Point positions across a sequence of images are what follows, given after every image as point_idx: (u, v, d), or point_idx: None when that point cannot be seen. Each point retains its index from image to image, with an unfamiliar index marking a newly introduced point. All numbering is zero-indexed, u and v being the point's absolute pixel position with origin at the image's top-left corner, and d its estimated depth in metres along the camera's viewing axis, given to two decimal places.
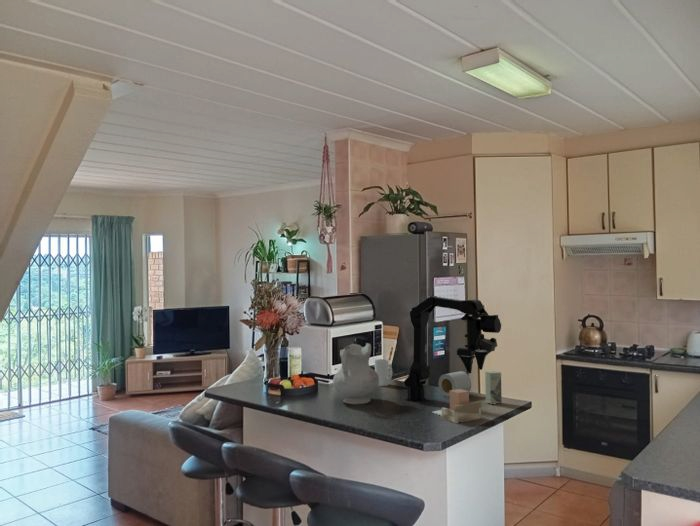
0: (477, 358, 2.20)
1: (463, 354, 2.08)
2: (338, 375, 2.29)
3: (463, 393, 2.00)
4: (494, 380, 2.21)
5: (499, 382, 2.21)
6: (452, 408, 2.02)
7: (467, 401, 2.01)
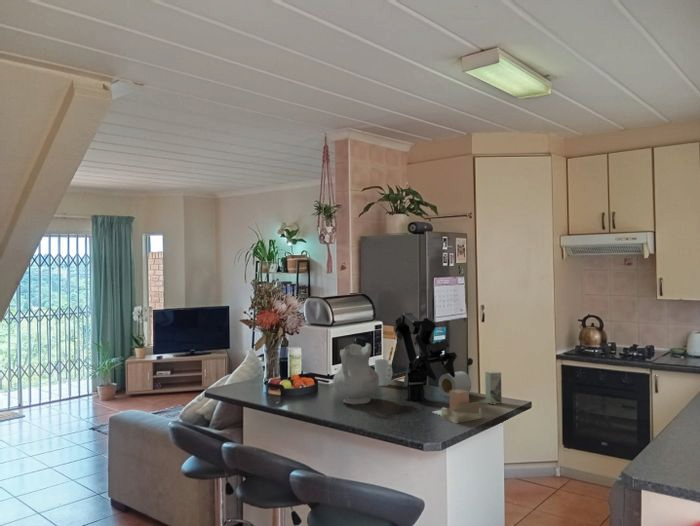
0: (447, 369, 2.15)
1: (416, 364, 2.09)
2: (338, 375, 2.29)
3: (463, 393, 2.00)
4: (494, 380, 2.21)
5: (499, 382, 2.21)
6: (452, 408, 2.02)
7: (467, 401, 2.01)
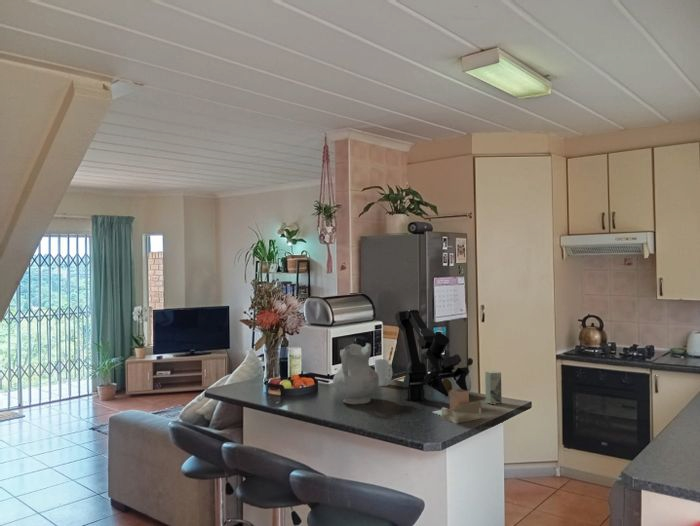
0: (459, 385, 2.09)
1: (427, 379, 2.03)
2: (338, 375, 2.29)
3: (463, 393, 2.00)
4: (494, 380, 2.21)
5: (499, 382, 2.21)
6: (452, 408, 2.02)
7: (467, 401, 2.01)
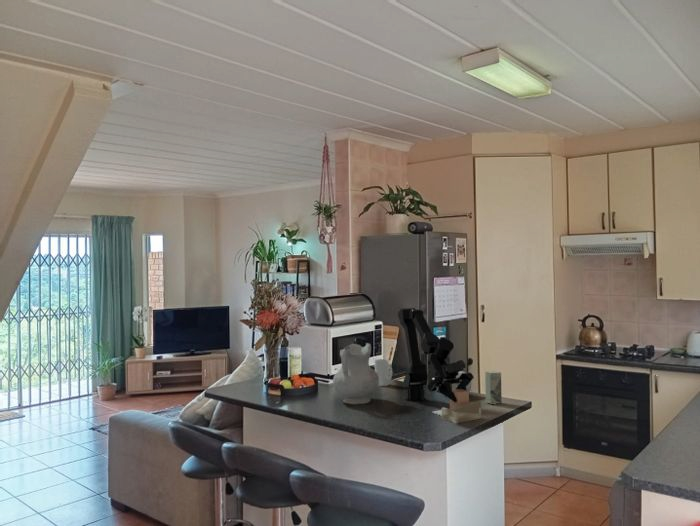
0: None
1: (431, 386, 2.01)
2: (338, 375, 2.29)
3: (463, 393, 2.00)
4: (494, 380, 2.21)
5: (499, 382, 2.21)
6: (452, 408, 2.02)
7: (467, 401, 2.01)
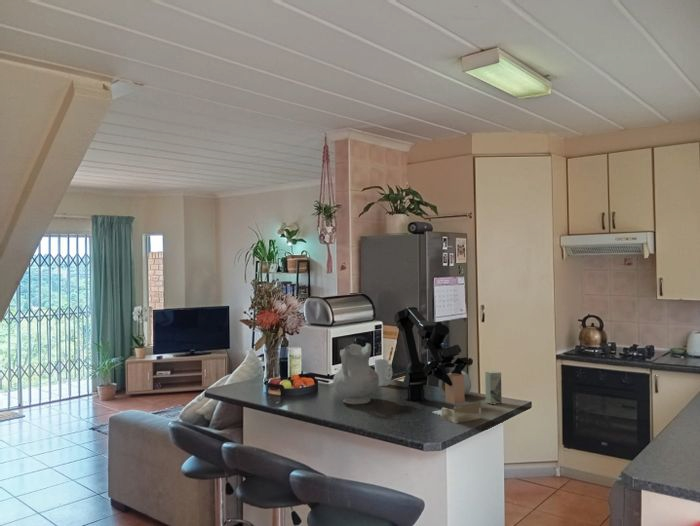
0: None
1: (427, 369, 2.03)
2: (338, 375, 2.29)
3: (458, 377, 2.02)
4: (494, 380, 2.21)
5: (499, 382, 2.21)
6: (447, 392, 2.04)
7: (462, 385, 2.03)
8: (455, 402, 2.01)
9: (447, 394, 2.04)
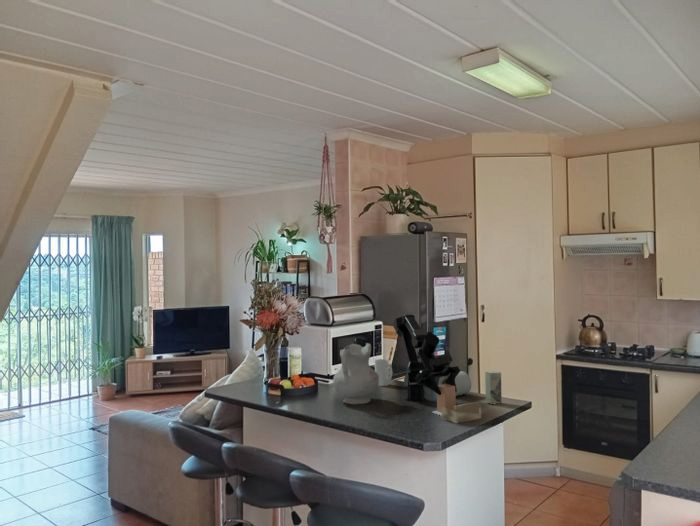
0: (449, 384, 2.13)
1: (419, 378, 2.08)
2: (338, 375, 2.29)
3: (449, 388, 2.07)
4: (494, 380, 2.21)
5: (499, 382, 2.21)
6: (439, 402, 2.08)
7: (453, 396, 2.07)
8: None
9: (439, 405, 2.09)
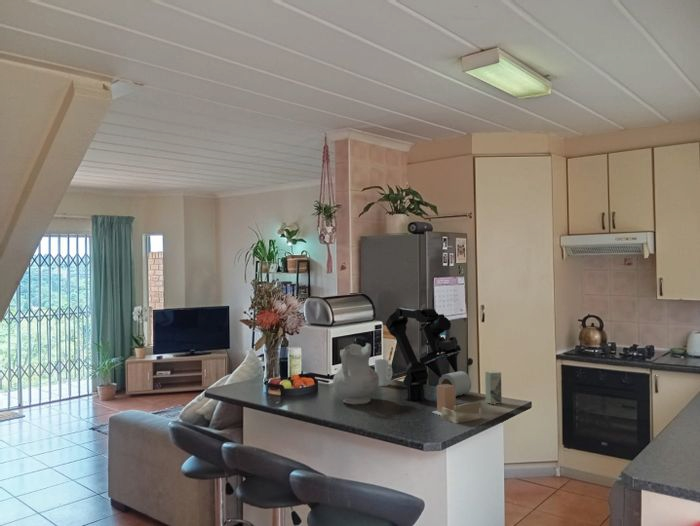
0: (450, 362, 2.22)
1: (424, 361, 2.14)
2: (338, 375, 2.29)
3: (449, 388, 2.07)
4: (494, 380, 2.21)
5: (499, 382, 2.21)
6: (439, 402, 2.08)
7: (453, 396, 2.07)
8: None
9: (439, 405, 2.09)
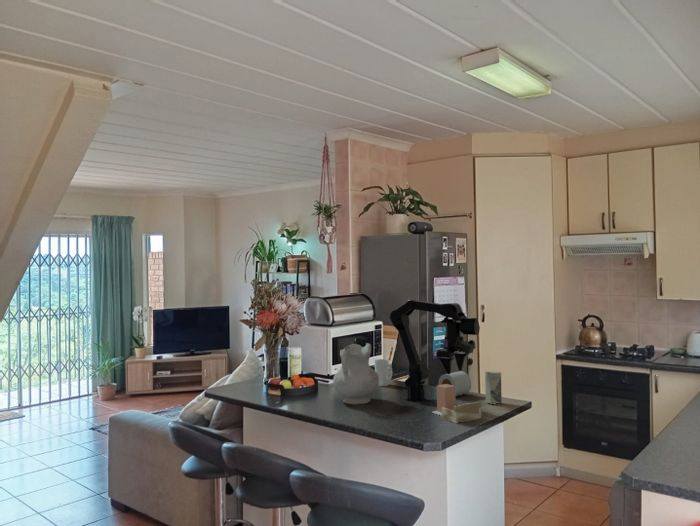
0: (457, 359, 2.28)
1: (442, 356, 2.16)
2: (338, 375, 2.29)
3: (449, 388, 2.07)
4: (494, 380, 2.21)
5: (499, 382, 2.21)
6: (439, 402, 2.08)
7: (453, 396, 2.07)
8: None
9: (439, 405, 2.09)
